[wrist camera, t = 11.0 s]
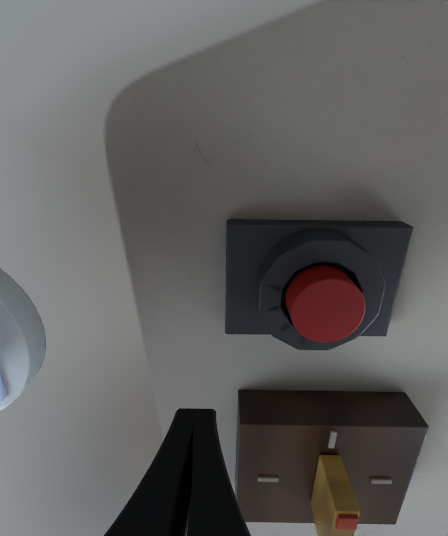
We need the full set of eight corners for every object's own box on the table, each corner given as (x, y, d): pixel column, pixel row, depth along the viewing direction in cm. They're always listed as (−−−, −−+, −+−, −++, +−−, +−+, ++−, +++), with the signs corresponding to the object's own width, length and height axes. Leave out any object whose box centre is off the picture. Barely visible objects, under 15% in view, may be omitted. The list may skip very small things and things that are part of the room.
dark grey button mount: (225, 323, 21) (225, 352, 18) (226, 218, 18) (226, 233, 15) (378, 326, 21) (401, 355, 18) (402, 221, 18) (434, 236, 15)
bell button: (282, 324, 18) (288, 342, 16) (288, 264, 16) (294, 278, 15) (347, 324, 18) (359, 343, 16) (358, 265, 16) (372, 279, 15)
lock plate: (235, 482, 27) (235, 524, 24) (238, 389, 23) (239, 426, 20) (378, 484, 27) (396, 527, 24) (405, 392, 23) (431, 429, 20)
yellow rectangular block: (329, 502, 23) (347, 567, 20) (309, 502, 23) (324, 567, 20) (340, 454, 21) (362, 516, 18) (319, 454, 21) (337, 516, 18)
